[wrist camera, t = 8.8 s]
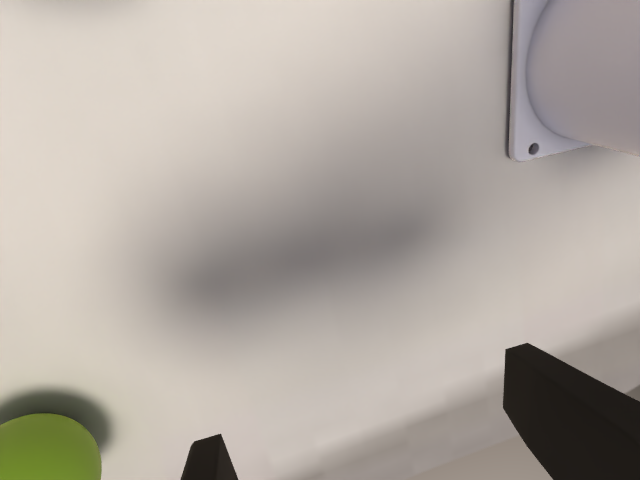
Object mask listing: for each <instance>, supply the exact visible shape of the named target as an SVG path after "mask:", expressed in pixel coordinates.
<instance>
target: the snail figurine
mask: <svg viewBox="0 0 640 480" xmlns="http://www.w3.org/2000/svg"><path fill="white" fill-rule="evenodd" d="M100 479H101V456H100V452H99V449H98V446H97V444H96V441H95V440H94V438H93V436H92V435H91V434H90V432H89V431H88V430H87V429H86V428H85V427H84V426H82V425H81V424H80V423H78V422H77V421H75V420H73V419H71V418H68V417H66V416H62V415H58V414H50V413H39V414H30V415H25V416H21V417H18V418H15V419H12V420H10V421H7V422H5V423H3V424H1V425H0V480H100Z"/></svg>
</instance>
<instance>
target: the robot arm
mask: <svg viewBox="0 0 640 480" xmlns="http://www.w3.org/2000/svg"><path fill="white" fill-rule="evenodd" d="M531 144H533V148H532V150H531V151H530V152H528V149H529V147H530V145H531ZM591 145H597V146H601V147H605V148H608V149H612V150H616V151H620V152H624V153H628V154H632V155H635V156H639V157H640V0H514V15H513V43H512V71H511V100H510V128H509V156H510V158H511V159H513V160H515V161H517V162H524V161H528V160H532V159H536V158H541V157H545V156H549V155H553V154H557V153H562V152H566V151H570V150H574V149H578V148H583V147H587V146H591ZM503 408H504V410H505V412H506V413H507V415H508V417H509V418H510V420H511V422H512V423H513V425H514V427H515V428H516V430H517V431H518V433H519V434H520V436H521V437H522V439H523V441H524V442H525V444H526V445H527V447H528V448H529V449H530V450H531V452H532V453H533V454H534V456H535V457H536V458H537V460H538V461H539V462H540V463H541V465H542V466H543V467H544V468H545V469H546V471H547V472H548V474H549V475H550V476H551V477H552V478H553V480H640V402H639V401H637V400H635V399H633V398H631V397H629V396H627V395H625V394H623V393H621V392H619V391H617V390H616V389H614V388H612V387H610V386H608V385H606V384H604V383H602V382H600V381H598V380H596V379H594V378H593V377H591V376H589V375H587V374H585V373H583V372H581V371H579V370H578V369H576V368H574V367H572V366H570V365H568V364H566V363H565V362H563V361H561V360H559V359H557V358H555V357H554V356H552V355H550V354H548V353H546V352H544V351H542V350H540V349H539V348H537V347H535V346H533V345H531V344H529V343H525V344H522V345H519V346H515V347H512V348H509V349H506V352H505V374H504V396H503ZM181 480H238V478H237V475H236V472H235V470H234V467H233V464H232V462H231V459H230V457H229V454H228V451H227V449H226V446H225V443H224V441H223V438H222V435H221V434H218V435H215V436H211V437H208V438H205V439H201V440H198V441H194V443H193V444H192V446H191V448H190V451H189V454H188V458H187V461H186V464H185V467H184V471H183V474H182V477H181Z"/></svg>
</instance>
